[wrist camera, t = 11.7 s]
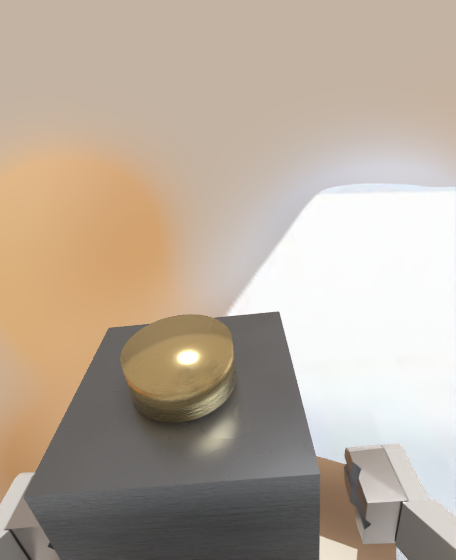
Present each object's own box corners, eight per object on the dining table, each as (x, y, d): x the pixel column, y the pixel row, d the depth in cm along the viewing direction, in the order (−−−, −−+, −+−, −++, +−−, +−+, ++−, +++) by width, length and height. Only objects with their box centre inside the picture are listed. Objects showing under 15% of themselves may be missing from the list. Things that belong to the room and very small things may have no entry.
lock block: (291, 543, 16) (277, 280, 10) (317, 720, 11) (320, 430, 5) (178, 551, 16) (99, 298, 10) (160, 728, 11) (-1, 457, 6)
